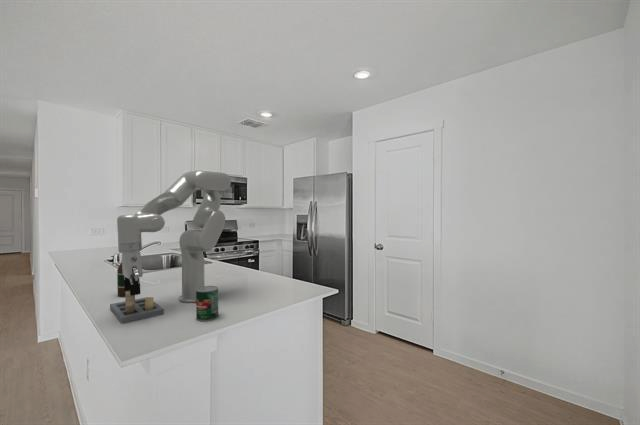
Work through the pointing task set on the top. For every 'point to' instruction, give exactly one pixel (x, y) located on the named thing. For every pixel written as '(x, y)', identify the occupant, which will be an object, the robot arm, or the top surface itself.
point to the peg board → (137, 310)
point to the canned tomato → (207, 303)
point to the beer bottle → (120, 282)
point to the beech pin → (129, 303)
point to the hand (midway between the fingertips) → (132, 291)
